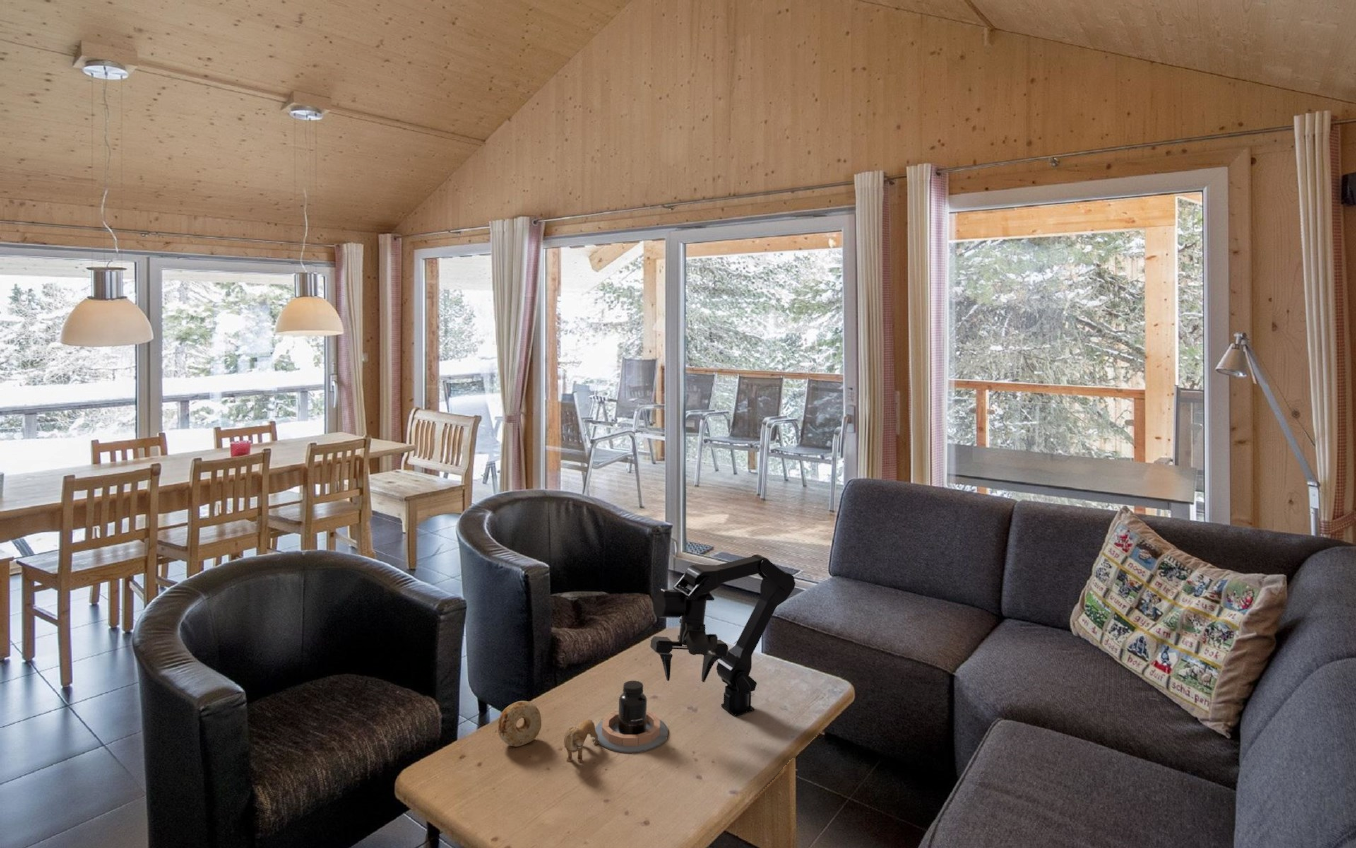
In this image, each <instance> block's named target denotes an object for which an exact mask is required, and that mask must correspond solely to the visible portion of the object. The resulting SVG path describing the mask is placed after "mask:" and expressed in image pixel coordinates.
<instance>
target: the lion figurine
mask: <svg viewBox="0 0 1356 848" xmlns="http://www.w3.org/2000/svg"><path fill="white" fill-rule="evenodd" d="M595 728H596V726H595V723H594V721H593V720H591V719H586V720H583V721H581V723H580V724H579V726H578V727H575V726H574V727H573V726H572V727H569V729H567V730H566V732H565V734H564V739H563V745H564V748H565V749H566V752H567V755H568V757H566V760H565V761H566V762H571V761H572V759H573V754H574V753H577V762H578V763H583V762H584V759H583V750H584V748H583V746H584V743H585V741H586V739H587V737H588V735H589V736H590V738H594V741H593V745H598V744H599V743H598V735H597V733H596V731H595Z"/></svg>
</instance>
